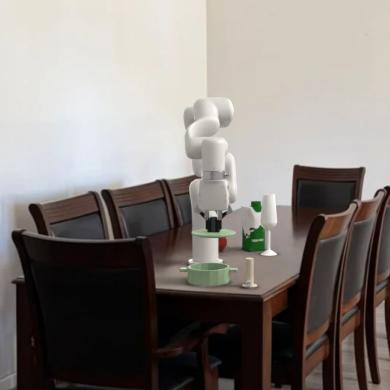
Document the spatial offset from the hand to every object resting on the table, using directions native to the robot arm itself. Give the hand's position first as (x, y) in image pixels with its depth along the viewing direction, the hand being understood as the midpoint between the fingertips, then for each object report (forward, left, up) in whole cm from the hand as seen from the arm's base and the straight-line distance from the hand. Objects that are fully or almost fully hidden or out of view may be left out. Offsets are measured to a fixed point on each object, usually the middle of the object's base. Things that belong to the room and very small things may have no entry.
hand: (213, 231), depth 258 cm
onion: (-56, -6, -17) cm, 59 cm away
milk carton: (-61, +7, -17) cm, 64 cm away
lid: (0, 0, -1) cm, 1 cm away
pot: (+1, -2, -17) cm, 17 cm away
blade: (+7, +12, -17) cm, 22 cm away
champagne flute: (-51, +14, -17) cm, 56 cm away
